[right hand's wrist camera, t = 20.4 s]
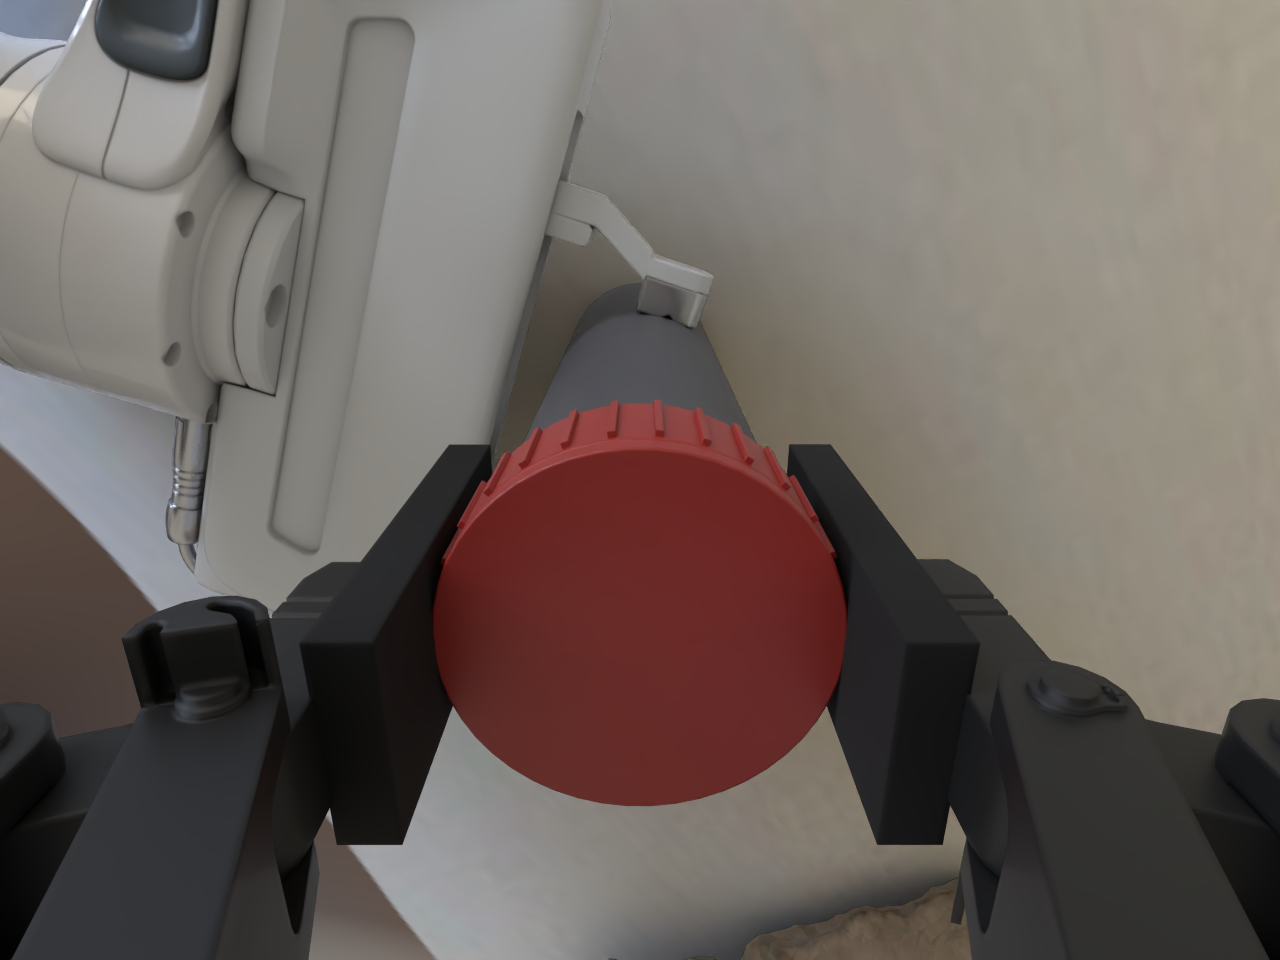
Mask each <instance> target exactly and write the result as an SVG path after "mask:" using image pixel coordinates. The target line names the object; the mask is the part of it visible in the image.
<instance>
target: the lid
mask: <svg viewBox="0 0 1280 960" xmlns="http://www.w3.org/2000/svg"><path fill="white" fill-rule="evenodd" d="M818 520H819V519H818V517H817V515H816V513H815V512H814V510H813V508H812V506H811V504H810V502H809V501H808V499H807V497H806V495H805V493H804V491H803V490H802V488H801V486H800V484H799V482H798V481H797V479H796V477H795V476H794V475H792V476H791V477H788V476H787V474H786V473H785V472H784V470H783V469H782V468H781V466H780V464H779V462H778V460H777V458H776V456H775V454H774V452H773V451H772V449H771V448H770V447H768V446H767V447H766V448H765V449H763V448H762V447H761V446H759V445H758V444H757V443H755V442H754V441H753V440H752V439H750V438H749V437H748V436H746V435H745V434H743V431H742V429H741V427H740V426H739V425H738V424H736V423H734V424H733V426H732V427H731V426H729V425H728V424H726V423H724V422H722V421H719V420H717V419H714V418H712V417H710V416H707V415H705V414H704V413H703V409H701V408H698V407H696V408H695V410H694V411H691V410H687V409H684V408H680V407H674V406H667V405H662V404H661V400H654V402H653V404H621V405H619V401H618V400H615V401H611V406H605V407H600V408H596V409H592V410H589V411H585V412H581V413H578V411H577V409H575V410H573V411H570V414H569V417H568V418H565V419H563V420H560V421H558V422H556V423H554V424H552V425H550V426H549V427H547V428H545V429H543V430H541V428H540V427H537V428H535V429H534V430H533V432H532V434H531V436H530V438H529V439H528V440H527V441H526V442H524V443H523V444H522V445H520V446H519V447H518V448H517V449H516V450H515V451H514V452H513V453H512V454H510V453H509V452H508V451H506V452H505V453H504V454H503V455H502V457H501V459H500V461H499V463H498V465H497V467H496V468H495V470H494V472H493V474H492V476H491V478H490V479H489V481H488V482H487V483H486V482H484V481H482V482H481V483H480V485H479V487H478V488H477V490H476V492H475V494H474V496H473V497H472V499H471V501H470V503H469V505H468V507H467V508H466V510H465V512H464V514H463V516H462V518H461V519H460V521H459V523H458V525H457V527H458V530H457V532H456V533H455V535H454V537H453V539H452V541H451V543H450V544H449V546H448V548H447V550H446V552H445V554H444V556H443V557H442V560H441V563H440V564H441V565H444V567H443V569H442V572H441V575H440V578H439V580H438V583H437V588H436V593H435V598H434V602H433V609H432V621H433V631H434V641H435V649H436V658H437V665H438V671H439V675H440V678H441V681H442V683H443V685H444V688H445V690H446V692H447V695H448V697H449V699H450V701H451V703H452V704H453V706H454V708H455V709H456V711H457V713H458V714H459V716H460V718H461V719H462V721H463V722H464V723H465V724H466V726H467V727H468V728H469V729H470V731H471V732H472V733H473V734H474V736H475V737H476V738H477V739H478V740H479V741H480V742H481V743H482V744H483V745H484V746H485V747H486V748H487V749H488V750H489V751H490V752H491V753H492V754H494V755H495V756H496V757H498V758H499V759H500V760H501V761H503V762H504V763H505V764H507V765H508V766H509V767H511V768H512V769H514V770H515V771H517V772H519V773H520V774H522V775H524V776H526V777H527V778H529V779H531V780H532V781H534V782H537V783H539V784H541V785H543V786H546V787H548V788H550V789H552V790H554V791H557V792H561V793H564V794H567V795H570V796H573V797H576V798H579V799H584V800H589V801H594V802H598V803H604V804H613V805H623V806H657V805H667V804H676V803H681V802H686V801H691V800H696V799H700V798H704V797H707V796H710V795H713V794H716V793H719V792H723V791H725V790H727V789H730V788H732V787H734V786H736V785H739V784H741V783H743V782H745V781H747V780H749V779H751V778H752V777H754V776H756V775H758V774H759V773H761V772H763V771H764V770H766V769H768V768H769V767H770V766H772V765H773V764H774V763H776V762H777V761H778V760H780V759H781V758H782V757H784V756H785V755H786V754H787V753H788V752H789V751H790V750H791V749H792V748H793V747H795V746H796V745H797V744H798V743H799V742H800V741H801V740H802V739H803V738H804V736H805V735H806V734H807V733H808V732H809V730H810V729H811V728H812V727H813V725H814V724H815V723H816V722H817V720H818V719H819V717H820V716H821V714H822V712H823V711H824V709H825V707H826V706H827V704H828V703H829V701H830V699H831V696H832V694H833V692H834V690H835V687H836V685H837V683H838V680H839V677H840V674H841V670H842V662H843V654H844V645H845V637H846V626H847V604H846V599H845V594H844V588H843V584H842V581H841V578H840V576H839V573H838V570H837V567H836V564H835V562H834V560H833V559H834V558H837V555H836V552H835V550H834V548H833V546H832V545H831V543H830V541H829V539H828V537H827V535H826V534H825V532H824V530H823V528H822V526H821V524H820V522H819V521H818Z"/></svg>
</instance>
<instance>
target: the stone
mask: <svg viewBox="0 0 1280 960" xmlns="http://www.w3.org/2000/svg"><path fill="white" fill-rule="evenodd" d="M957 882H958V878H957V879H953V880H951V881H949V882H947V883H945V884H943V885H941V886H934V887H931V888H930V889H929V890H928V891H927V892H926V893H925V894H924V895H923V896H922V897H921V898H918V899H915V900H913V901H911V902H909V903H907V904H904V905H902V906H886V907H882V908H879V907H872V906H861V907H858V908H854V909H851V910H850V911H848V912H847V913H843V914H837V915H835V916H834V917H833V918H831V919H830V920H829V921H824V922H818V923H814V924H809V925H794V926H792V927H790V928H787V929H783V930H779V931H775V932H770V933H764V934H760V935H758V936H756V937H755V938H754V939H753V940H752V941H750V942H749V943H748V944H747V945H746V946H745V950H744V955H743V956H742V958H741V959H740V960H972V956H971V949H970V941H969V933H968V926H967V918H966V910H965V909H964V913H963V917H962V922H961V925H959V924H955V923H950V921H951V914H952V908H953V902H954V897H955V892H956V887H957ZM608 960H617V959H612V958H609V959H608ZM687 960H716V959H715V958H713V957H712V958H707V957H694V958H690V959H687Z"/></svg>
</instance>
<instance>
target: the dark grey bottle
mask: <svg viewBox="0 0 1280 960" xmlns="http://www.w3.org/2000/svg"><path fill="white" fill-rule="evenodd" d="M641 287H642V284H628V285H624V286H620V287H617V288H615V289H612V290H610V291H608V292H607V293H605V294H603V295H602V296H600V297H599V298H598V299H596V300H595V301H594V302H593V303H592V304H591V305H590V306H589V308H588V309H587V310H586V312H585V313H584V315H583V316H582V318H581V320H580V322H579V324H578V326H577V328H576V330H575V332H574V335H573V337H572V339H571V341H570V343H569V345H568V347H567V350H566V352H565V354H564V356H563V358H562V360H561V362H560V365H559V367H558V369H557V371H556V373H555V375H554V377H553V380H552V382H551V384H550V386H549V388H548V390H547V392H546V395H545V397H544V399H543V401H542V403H541V405H540V408H539V410H538V412H537V414H536V416H535V418H534V420H533V423H532V425H531V427H530V429H529V431H528V433H527V435H526V438H525V440H524V442H526V441H527V440H528V439H529V438H530V436H531V434H532V432H533V430H534V429H535V428H537V427H540V428H541V430H543V429H545V428H547V427H549V426H550V425H552V424H554V423H556V422H558V421H560V420H563V419H565V418H568V417H569V414H570V411H573V410H575V409H577V411H578V413H581V412H585V411H589V410H592V409H596V408H600V407H605V406H611V401H615V400H618V401H619V405H621V404H653V402H654V400H661V404H662V405H667V406H674V407H680V408H684V409H687V410H691V411H694V410H695V408H696V407H698V408H701V409H703V413H704V414H705V415H707V416H710V417H712V418H714V419H717V420H719V421H722V422H724V423H726V424H728V425H729V426H731V427H732V426H733V424H734V423H736V424H738V425H739V426H740V427H741V429H742V431H743V434H745V435H746V436H748V437H749V438H750V439H752V440H753V441H754V442H755V443H757V442H756V440H755V438H754V436H753V434H752V432H751V430H750V427H749V425H748V423H747V421H746V419H745V417H744V415H743V412H742V410H741V408H740V406H739V404H738V402H737V400H736V397H735V395H734V393H733V391H732V389H731V387H730V385H729V382H728V380H727V378H726V376H725V374H724V372H723V370H722V367H721V365H720V363H719V361H718V359H717V357H716V355H715V352H714V350H713V348H712V346H711V344H710V342H709V340H708V337H707V335H706V333H705V331H704V329H703V327H702V325H701V323H700V321H698V324H697V327H696V328H692V327H687V326H684V325H681V324H679V323H677V322H674V321H673V319H672V318H671V317H670V315H666V316H663V317H658V316H653V315H650V314H647V313H644V312H641V311H638V310H637V300H638V297H639V294H640V290H641ZM524 442H523V443H524Z"/></svg>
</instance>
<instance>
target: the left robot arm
mask: <svg viewBox="0 0 1280 960" xmlns="http://www.w3.org/2000/svg"><path fill="white" fill-rule="evenodd" d="M610 18H611V6H610V0H87V1H86V4H85V6H84V8H83V10H82V12H81V15H80V17H79V19H78V21H77V23H76V25H75V27H74V29H73V31H72V33H71V35H70V37H69V39H68V41H64V40H49V39H28V38H20V37H15V36H11V35H8V34H5V33H3V32H1V31H0V363H2V364H4V365H6V366H9V367H11V368H13V369H16V370H19V371H22V372H26V373H30V374H32V375H36V376H39V377H43V378H46V379H50V380H53V381H57V382H60V383H63V384H67V385H70V386H74V387H77V388H81V389H84V390H88V391H91V392H95V393H98V394H101V395H105V396H108V397H112V398H115V399H119V400H123V401H127V402H130V403H133V404H137V405H140V406H144V407H147V408H150V409H154V410H157V411H161V412H164V413H168V414H171V415H174V416H176V422H175V433H174V443H173V457H172V463H173V489H172V497H171V498H170V499H169V502H168V505H167V510H166V531H167V536H168V538H169V540H171V541H172V542H174V543H176V544H178V545H179V550H180V553H181V555H182V558H183V560H184V562H185V563H186V565H187V566H188V568H189V569H190V570H191V571H192V573H193V574H194V576H195V579H196V580H197V582H198V583H200V584H201V585H203V586H204V587H206V588H208V589H210V590H212V591H215V592H218V593H221V594H225V595H229V596H241V597H246V598H251V599H256V600H258V601H259V602H260V603H262V604H263V605H265V606H266V607H267V609H268V610H270V611H273V612H275V610H276V609H277V608H278V607H279V606H280V605H281V604H282V602H286V598H287V597H288V595H289V594H290V593H291V592H292V591H293V590H294V589H295V587H296V586H297V585H298V584H299V583H300V582H301V581H302V579H303V578H305V577H307V576H308V575H310V574H312V573H314V572H315V571H317V570H319V569H320V568H322V567H324V566H326V565H327V564H329V563H331V562H361V561H362V559H363V558H364V557H365V555H366V554H367V553H368V551H369V550H370V549H371V547H372V546H373V545H374V543H375V542H376V541H377V539H378V538H379V537H380V535H381V534H382V533H383V531H384V530H385V529H386V527H387V526H388V525H389V523H390V522H391V521H392V520H393V518H394V517H395V516H396V514H397V513H398V512H399V510H400V509H401V508H402V506H403V505H404V504H405V502H406V501H407V500H408V498H409V497H410V496H411V494H412V493H413V492H414V490H415V489H416V488H417V486H418V485H419V484H420V482H421V481H422V480H423V478H424V477H425V476H426V474H427V473H428V472H429V471H430V469H431V468H432V467H433V465H434V464H435V463H436V461H437V460H438V459H439V457H440V456H441V455H442V453H443V452H444V451H445V449H446V448H447V447H448V445H449V444H490V448H491V461H492V474H493V472H494V470H495V468H496V467H497V465H498V463H499V461H500V460H497V459H494V456H495V452H496V449H497V445H498V441H499V437H500V434H501V430H502V426H503V422H504V419H505V415H506V411H507V407H508V404H509V400H510V396H511V392H512V389H513V385H514V381H515V377H516V374H517V370H518V366H519V362H520V359H521V355H522V351H523V347H524V344H525V340H526V336H527V332H528V329H529V325H530V321H531V317H532V314H533V310H534V306H535V302H536V299H537V295H538V291H539V287H540V283H541V280H542V276H543V272H544V268H545V265H546V261H547V257H548V253H549V250H550V246H551V242H552V238H553V237H554V238H557V239H560V240H564V241H567V242H570V243H573V244H576V245H579V246H582V247H584V246H585V245H587V244H588V243H590V242H591V241H592V240H593V237H594V234H595V231H596V228H597V229H598V230H599V231H600V233H601V234H602V235H603V236H604V237H605V238H606V239H607V240H608V241H609V242H610V244H611V245H612V246H613V247H614V248H615V249H616V250H617V251H618V252H619V254H620V255H621V256H622V257H623V258H624V259H625V260H626V261H627V262H628V264H629V265H630V266H631V267H632V268H633V269H634V270H635V271H636V272H637V274H638V275H639V276H640V277H641V278H642V279H643V283H642V287H641V290H640V294H639V297H638V300H637V310H638V311H641V312H644V313H647V314H650V315H653V316H658V317H663V316H666V315H670V317H671V318H672V319H673V321H674V322H677V323H679V324H681V325H684V326H687V327H692V328H696V327H697V324H698V321H699V319H700V316H701V313H702V310H703V308H704V305H705V302H706V300H707V297H708V293H709V291H710V288H711V285H712V282H713V279H714V277H713V276H712V275H711V274H710V273H708V272H706V271H703V270H701V269H698V268H696V267H693V266H690V265H687V264H684V263H681V262H678V261H675V260H672V259H669V258H666V257H663V256H660V255H657V254H654V253H653V248H652V247H651V246H650V245H649V244H648V242H647V241H646V240H645V239H644V238H643V237H642V236H641V234H640V233H639V232H638V231H637V230H636V229H635V228H634V226H633V225H632V224H631V223H630V222H629V221H628V220H627V218H626V217H625V216H624V215H623V214H622V213H621V212H620V210H619V209H618V208H617V207H616V206H615V205H614V203H613V202H612V201H611V200H610V199H609V198H608V197H607V195H604V194H601V193H598V192H596V191H593V190H590V189H587V188H584V187H581V186H578V185H575V184H572V183H569V182H568V178H569V175H570V171H571V167H572V163H573V160H574V156H575V152H576V148H577V145H578V141H579V137H580V133H581V130H582V126H583V122H584V118H585V114H586V111H587V107H588V103H589V99H590V96H591V92H592V88H593V84H594V81H595V77H596V73H597V69H598V66H599V62H600V58H601V54H602V51H603V47H604V43H605V39H606V35H607V32H608V28H609V24H610ZM197 542H198V547H197V554H196V551H195V549H194V545H193V544H195V543H197Z"/></svg>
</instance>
